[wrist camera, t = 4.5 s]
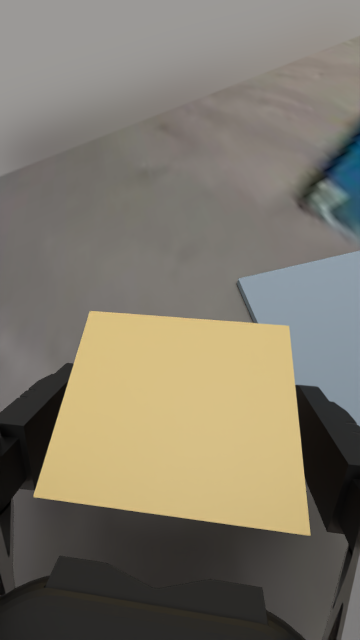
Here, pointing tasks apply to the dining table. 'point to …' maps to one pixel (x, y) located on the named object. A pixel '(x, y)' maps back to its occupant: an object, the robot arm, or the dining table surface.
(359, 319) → the slate mat
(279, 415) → the wooden block
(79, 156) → the dining table surface
